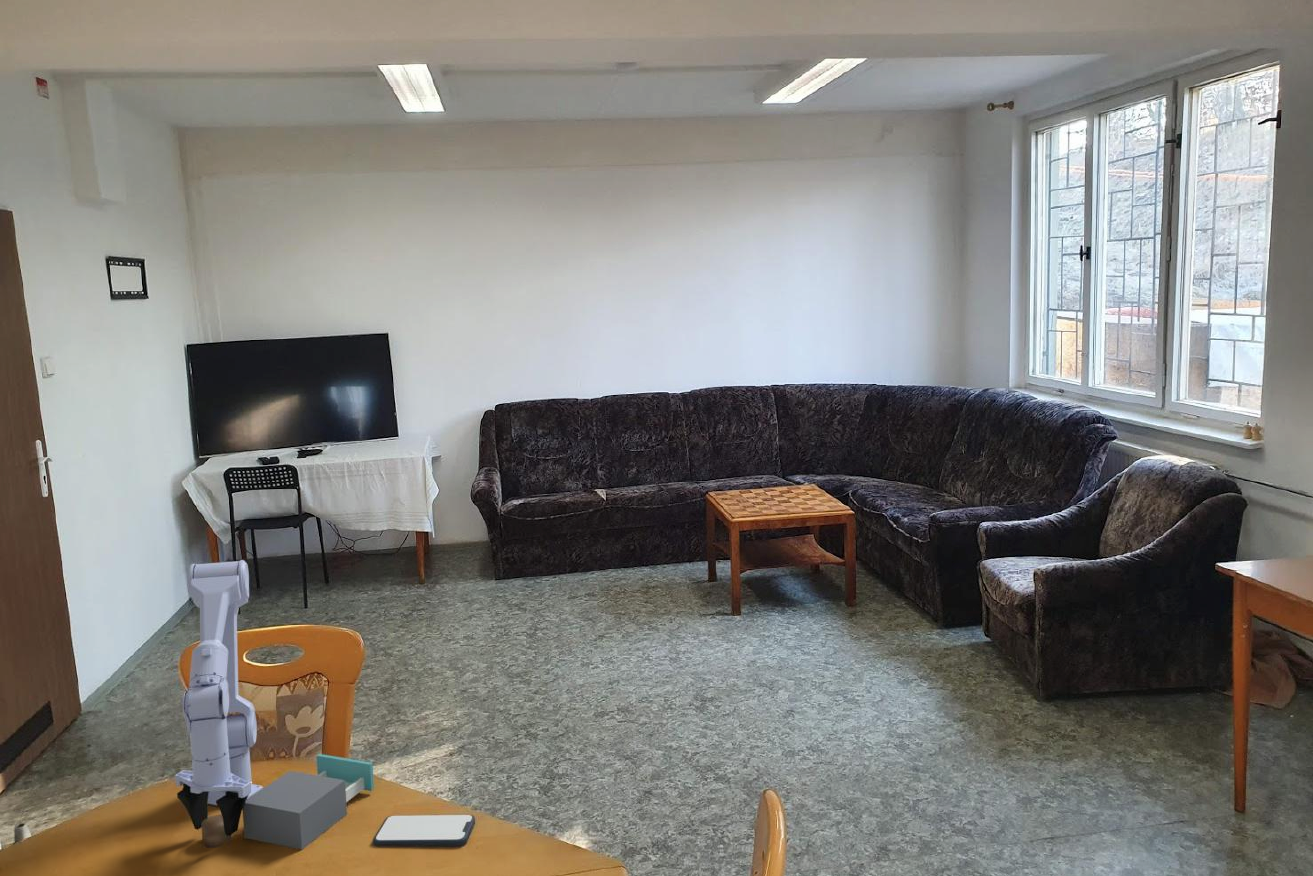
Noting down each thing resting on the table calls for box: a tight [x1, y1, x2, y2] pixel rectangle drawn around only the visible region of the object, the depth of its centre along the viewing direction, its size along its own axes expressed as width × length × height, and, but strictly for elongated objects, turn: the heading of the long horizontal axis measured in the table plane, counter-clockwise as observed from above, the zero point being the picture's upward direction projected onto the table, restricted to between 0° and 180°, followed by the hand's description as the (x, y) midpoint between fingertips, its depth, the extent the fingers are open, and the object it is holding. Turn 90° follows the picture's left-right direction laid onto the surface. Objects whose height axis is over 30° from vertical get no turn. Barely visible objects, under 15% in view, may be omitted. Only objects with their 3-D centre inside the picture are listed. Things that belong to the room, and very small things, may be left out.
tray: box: [316, 753, 375, 803], centre depth 177 cm, size 12×12×5 cm
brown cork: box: [201, 814, 233, 848], centre depth 165 cm, size 4×4×4 cm
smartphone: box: [372, 814, 476, 848], centre depth 167 cm, size 9×2×16 cm
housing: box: [242, 770, 348, 851], centre depth 169 cm, size 12×12×6 cm
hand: (216, 829), depth 165 cm, fingers open, 6 cm apart
